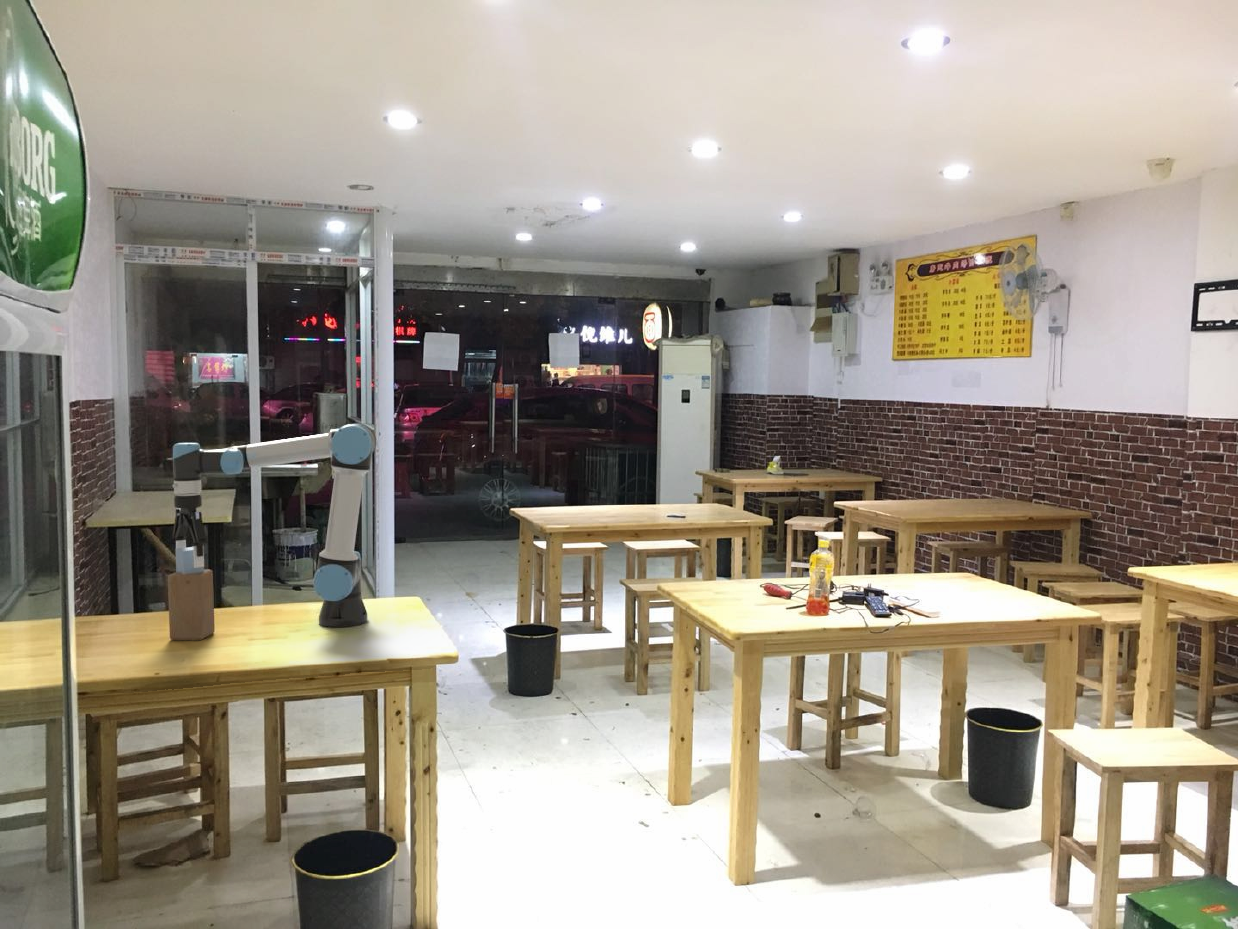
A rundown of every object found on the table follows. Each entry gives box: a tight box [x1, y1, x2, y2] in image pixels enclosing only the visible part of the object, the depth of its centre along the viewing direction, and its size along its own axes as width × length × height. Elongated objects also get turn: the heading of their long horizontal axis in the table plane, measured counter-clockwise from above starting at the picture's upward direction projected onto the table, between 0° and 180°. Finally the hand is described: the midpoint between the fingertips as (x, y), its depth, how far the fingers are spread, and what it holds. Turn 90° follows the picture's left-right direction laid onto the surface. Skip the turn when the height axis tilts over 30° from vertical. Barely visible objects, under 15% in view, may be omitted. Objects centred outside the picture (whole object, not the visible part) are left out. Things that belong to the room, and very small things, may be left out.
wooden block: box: [167, 568, 216, 641], centre depth 295 cm, size 10×10×20 cm
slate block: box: [175, 546, 205, 574], centre depth 294 cm, size 6×6×7 cm
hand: (190, 564), depth 294 cm, fingers open, 13 cm apart
